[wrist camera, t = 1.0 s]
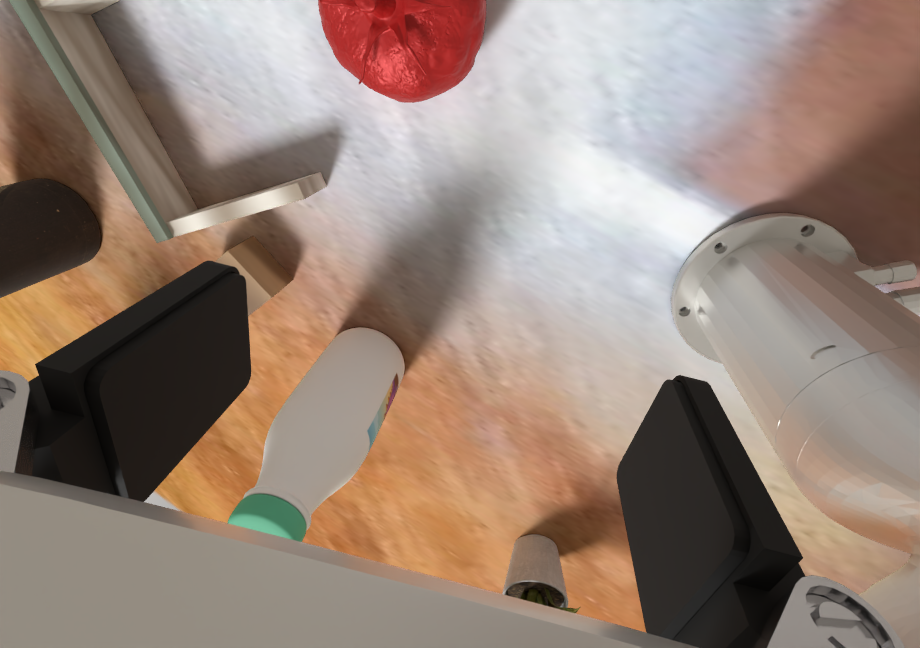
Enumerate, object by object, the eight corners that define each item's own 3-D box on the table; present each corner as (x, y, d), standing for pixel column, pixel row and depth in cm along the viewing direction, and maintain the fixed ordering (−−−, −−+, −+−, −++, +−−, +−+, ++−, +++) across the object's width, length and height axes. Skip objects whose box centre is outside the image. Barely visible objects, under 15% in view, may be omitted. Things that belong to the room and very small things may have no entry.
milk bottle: (315, 342, 45) (174, 513, 28) (377, 312, 42) (263, 482, 25) (360, 399, 48) (257, 587, 31) (421, 375, 45) (345, 567, 28)
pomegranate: (484, 103, 32) (467, 120, 25) (349, 91, 33) (290, 104, 26) (500, -80, 27) (484, -133, 19) (339, -88, 28) (261, -141, 20)
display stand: (218, -76, 30) (167, -98, 26) (326, 186, 37) (300, 201, 33) (68, 1, 33) (4, -7, 29) (194, 225, 41) (156, 242, 37)
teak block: (254, 235, 40) (227, 250, 37) (294, 278, 42) (271, 297, 39) (221, 264, 42) (193, 281, 39) (260, 304, 44) (236, 325, 41)
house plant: (476, 582, 60) (455, 739, 46) (459, 510, 54) (429, 667, 40) (588, 589, 57) (602, 759, 43) (584, 513, 51) (600, 685, 37)
